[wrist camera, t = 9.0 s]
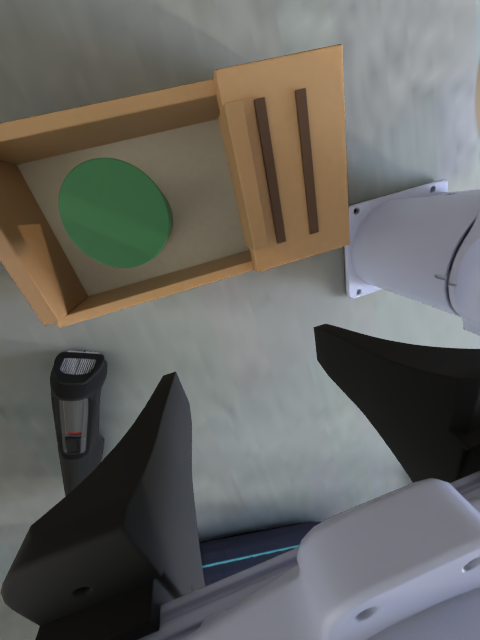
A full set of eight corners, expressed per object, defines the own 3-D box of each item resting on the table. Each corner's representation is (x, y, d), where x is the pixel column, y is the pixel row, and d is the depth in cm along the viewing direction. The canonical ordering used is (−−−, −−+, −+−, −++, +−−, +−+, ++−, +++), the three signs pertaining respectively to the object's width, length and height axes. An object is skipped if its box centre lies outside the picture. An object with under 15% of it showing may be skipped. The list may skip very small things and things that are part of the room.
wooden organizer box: (290, 98, 16) (360, 23, 10) (306, 237, 20) (364, 247, 14) (12, 161, 14) (-120, 118, 8) (88, 300, 18) (40, 345, 12)
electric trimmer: (63, 483, 24) (48, 519, 22) (57, 348, 19) (35, 372, 16) (105, 480, 25) (96, 514, 23) (110, 352, 20) (99, 375, 17)
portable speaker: (166, 575, 34) (161, 702, 25) (168, 531, 31) (163, 662, 22) (323, 540, 41) (364, 632, 32) (340, 501, 37) (392, 592, 28)
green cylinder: (158, 169, 15) (146, 145, 10) (182, 242, 17) (183, 253, 12) (84, 187, 14) (33, 171, 9) (117, 260, 16) (90, 279, 11)
